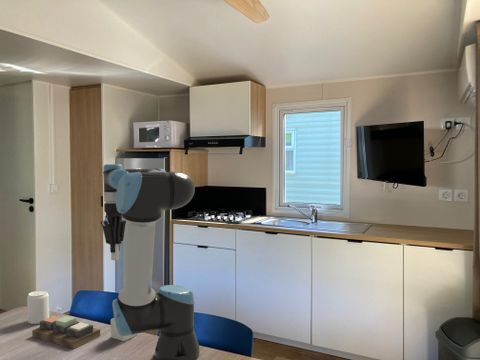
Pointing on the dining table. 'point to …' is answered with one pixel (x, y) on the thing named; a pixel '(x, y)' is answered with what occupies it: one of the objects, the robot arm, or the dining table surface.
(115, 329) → the medicine bottle
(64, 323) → the sage button
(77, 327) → the cream button
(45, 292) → the white canister
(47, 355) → the dining table surface
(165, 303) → the robot arm
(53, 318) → the terracotta button
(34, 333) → the button panel
